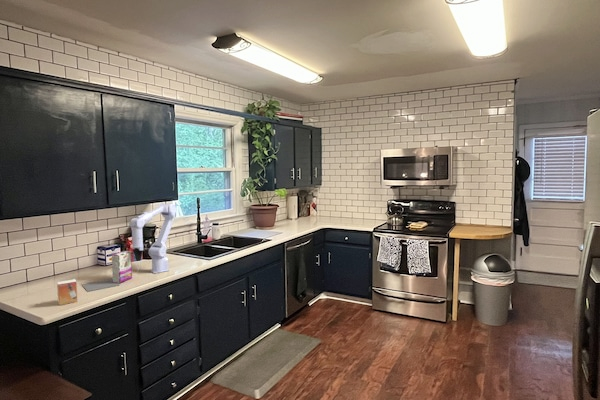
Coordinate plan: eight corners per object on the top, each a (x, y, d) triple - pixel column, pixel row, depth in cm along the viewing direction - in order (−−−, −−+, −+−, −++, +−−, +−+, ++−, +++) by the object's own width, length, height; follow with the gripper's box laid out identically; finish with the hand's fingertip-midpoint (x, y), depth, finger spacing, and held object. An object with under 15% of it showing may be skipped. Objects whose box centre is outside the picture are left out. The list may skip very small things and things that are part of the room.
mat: (112, 279, 223) (112, 278, 223) (119, 285, 211) (119, 284, 211) (81, 284, 213) (81, 284, 213) (87, 291, 200) (87, 291, 200)
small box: (58, 305, 181) (57, 284, 180) (58, 302, 185) (56, 281, 184) (78, 302, 185) (76, 281, 184) (76, 298, 190) (75, 278, 189)
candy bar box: (124, 277, 225) (124, 250, 224) (132, 278, 224) (131, 251, 223) (112, 282, 214) (111, 254, 213) (119, 283, 213) (119, 254, 212)
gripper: (127, 237, 226) (127, 259, 227) (133, 240, 215) (134, 263, 216) (139, 236, 231) (140, 257, 231) (146, 239, 219) (147, 261, 220)
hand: (138, 260), depth 224 cm, fingers closed
